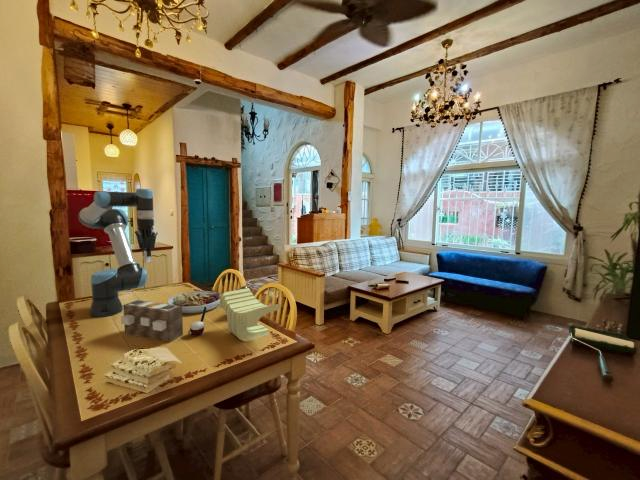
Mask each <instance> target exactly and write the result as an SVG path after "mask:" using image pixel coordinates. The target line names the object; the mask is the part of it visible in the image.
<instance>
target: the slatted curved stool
mask: <svg viewBox="0 0 640 480" xmlns="http://www.w3.org/2000/svg"><path fill="white" fill-rule="evenodd" d="M239 289H240V290H236V289H235V290H230V291H225V292H223V293H222V294H220V295H221V297H220V304H219V309H223V310H224V312H225V314H226V319H227V328H228V331H229V332H231V334H233V335H234V336H236V337H237V338H238V339H239V340H240V341H242V342H248V341H252V340H255V339H259V338H261V337H265V336H268V335H270V334H271V333H270V329H268V328H267V327H265V326H264V325H262V324H261V323H259V321H260V319H261V318H262V317H264V316H265V315H267V314H270V313H272V312H275V311H276V312H277V311H279V310H281V309H280V308H281V303H280V302H279V303H276V304H272V305H266V304H264V303H262V302H261V301H259V299H257V298H256V296H255V295H254V294H253V292H252V291H251V290H250V288H249V287H248V288H246V289H241V288H239Z"/></svg>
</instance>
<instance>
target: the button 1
mask: <svg viewBox="0 0 640 480" xmlns="http://www.w3.org/2000/svg"><path fill="white" fill-rule="evenodd" d="M133 323H135V315H129V314H127V315H124V314H123V315H122V316H120V324H121V325H124V324H125V325H130V324H133Z"/></svg>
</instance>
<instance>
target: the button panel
mask: <svg viewBox="0 0 640 480" xmlns="http://www.w3.org/2000/svg"><path fill="white" fill-rule="evenodd" d="M122 306H123V316H124V315H127V314H129V315H135V323H133V324H130V325H125V324H123V325H124V334H125V335H131V336H135V337H141V338H144V339H145V338H146V339H151V340H156V341H160V342H168V343H171V342H173V341H174V340H176V339H178V338H180V337H182V336H183V335H184V331H183V330H184V328H183V325H184V324H183V322H184V320H183V313H182V306H176V305H169V304H167V303H164V302H163V303H162V302H155V301H148V300H141V299H137V300H134V301H131V302H128V303H125V304H122ZM141 317H149V318H150V322H151V325H150V326H144V325H141V320H140V318H141ZM156 320H164V321H166V324H167V328H166V329H164V330H162V331H158V330H153V322H154V321H156Z"/></svg>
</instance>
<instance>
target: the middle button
mask: <svg viewBox="0 0 640 480" xmlns="http://www.w3.org/2000/svg"><path fill="white" fill-rule="evenodd" d="M140 320H141V325H144V326H150V325H151V322H150V318H149V317H141V318H140Z"/></svg>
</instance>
